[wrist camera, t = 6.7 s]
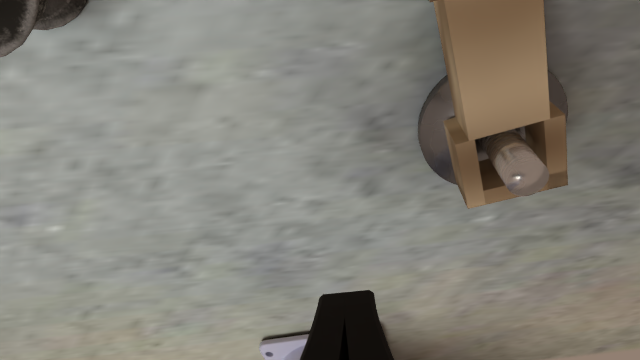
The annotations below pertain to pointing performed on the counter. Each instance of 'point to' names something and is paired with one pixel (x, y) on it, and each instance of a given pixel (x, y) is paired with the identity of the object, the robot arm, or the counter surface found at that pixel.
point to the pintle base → (485, 142)
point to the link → (498, 90)
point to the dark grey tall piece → (32, 19)
